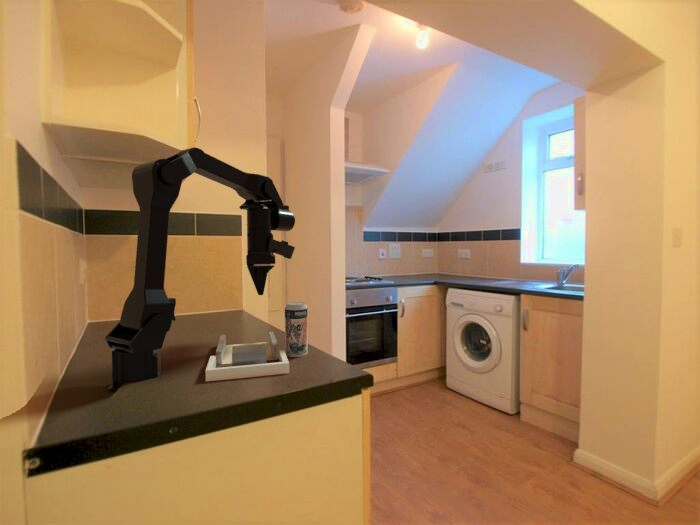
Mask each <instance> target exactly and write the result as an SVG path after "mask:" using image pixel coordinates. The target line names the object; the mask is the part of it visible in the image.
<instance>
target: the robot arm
mask: <svg viewBox="0 0 700 525" xmlns="http://www.w3.org/2000/svg"><path fill="white" fill-rule="evenodd" d="M131 172H132V173H131V181H132V182H131V183H132V191H133V192H132V193H133V195H134V198H135V200H136V202H137V206H138V207H139V215H138V216H139V217H138V218H139V219H138V229H137V230H138V231H137V239H136V240H137V243H136V252H135V253H136V255H135V268H134V279H133V281H134V282H133V286H132V289H131V290H130V293H129V294H128V296H127V298H126V299H125V301H124V303H123V307H122V311H121V314H120V318H119V322H118V323H116V324H115V326H114V327H113V328H112V329H111V330H110V332H108V334H107V335H105V337H104V340H105V342H106V345H107V346H108V348H109V349H114V350H112V351H111V373H112V374H111V376H112V380H111V382H112V384H111V385H110V386H109V387H108V391H109V392H114V391H116V392H117V391H119V389H120V388H122V386H123V385H124V384H129V383H132V384H133V383H138V382H142V381H146V380H150V379H154V378H155V379H156V378H159V376H160V375H161V374H162V368H161V367H162V363H161V361H162V358H161V356H162V355H161V353H160V352H158V350H161V349H162V348H163V345H164V342H165V339H166V336H167V333H168V332H169V331H170V330H171V328H172V325H173V324H172V323H173V321H174V322H175V321H176V317H175V309H176V304H177V300H176V297H175V298H174V297H168V295H167V292H166V290H165V279H166V278H165V276H166V264H167V263H166V262H167V251H168V238H169V227H170V226H169V224H170V212H171V209H172V208H173V206H174V205H175V203H176V201H177V199H178V197H179V195H180V191H181V187H182V184H183V180H185V179H187V178H188V177H190V176H192V175H193V174H197V175H198V176H202V177H204V178H206V179H208V180H211V181H214V182H216V183H218V184H220V185H223V186H225V187H228V188H230V189H232V190H233V191H235V192H236V194H237V195H238V196H239V197H240V198H242V199H243V200H245V201H244V202H243V203H242V204H241V205H239V207H238V208H239V209H240V210H244V211H245V210H246V241H247V244H246V246H247V247H246V253H247V254H246V257H245V258H246V263H245V264H246V268H247V270H248V272H249V276H250V277H251V281H252V283H253V285H254V287H255V290H256V293H257V295H258V296H263V295H264V293H265V287H266V283H267V282H266V281H267V278H268V273H269V272H270V271H271V270H272V269H273V268H274V267H275V264H276V255H280V256H282V257H283V258H286V259H288V260H291V259H292V257H293V254H294V252H295V248H296V247H295V246H294V245H290V244H289V242H288V241H286V240H281V241H279V240H276V239H274V235H273V233H272V231H279V232H290V231H291V230H293V228H294V226H295V223H296V217H295V215H294V213H293V212H292V211H291V210H290V206H289V205H287V204H285V205H284V202H283V200H282V198H281V196H280V194H279V192H278V189H277V188H276V185H275V184H274V181H273V179H272V178H271V177H270V176H267V175H266V176H265V175H264V174H263V175H262V174H259V173H252V172H251V173H250V172H246V171H243V170H241V169H239V168H236V167H234V166H232V165H230V164H229V163H227V162H224V161H222V160H220V159H219V158H216V157H215V156H212V155H210V154H208V153H206V152H205V151H204V150H203V149H202V148H198V147H190V148H186V149H181V150H180V151H178V153H176V154H174V155H171V156H169V157H165V158H160V159H158V158H157V159H154V160H151V161H147V162H143V163H140V164H138V165H136V166H135V167H134V168H133V170H132V171H131ZM275 254H276V255H275Z"/></svg>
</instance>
